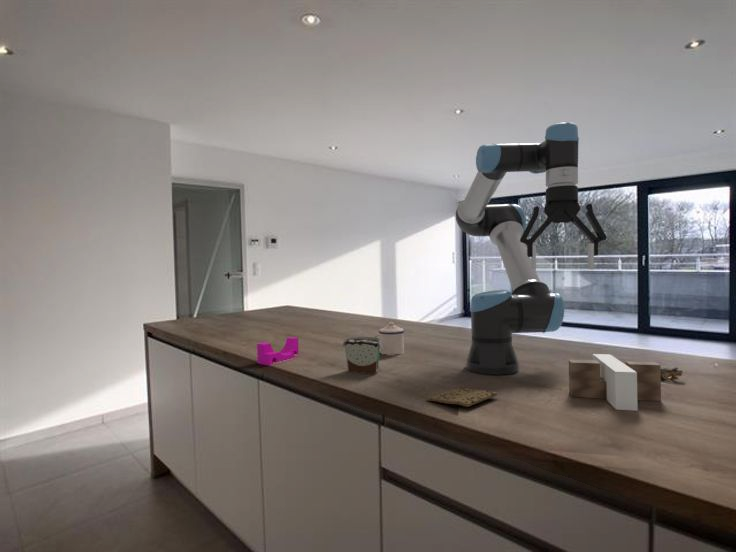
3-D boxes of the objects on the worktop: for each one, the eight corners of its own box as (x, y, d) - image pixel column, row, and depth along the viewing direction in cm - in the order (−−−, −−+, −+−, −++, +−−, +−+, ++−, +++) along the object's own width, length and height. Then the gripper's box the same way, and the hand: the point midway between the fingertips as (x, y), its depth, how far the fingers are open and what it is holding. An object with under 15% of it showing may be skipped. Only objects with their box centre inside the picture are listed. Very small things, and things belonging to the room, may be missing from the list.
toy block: (269, 368, 134) (269, 345, 134) (257, 366, 138) (257, 343, 138) (303, 359, 146) (303, 338, 146) (291, 357, 150) (291, 337, 150)
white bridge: (637, 410, 86) (636, 372, 86) (616, 409, 87) (615, 371, 87) (610, 386, 103) (610, 354, 103) (593, 385, 104) (592, 354, 104)
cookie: (456, 389, 106) (456, 381, 106) (498, 400, 96) (498, 391, 96) (425, 400, 98) (425, 392, 98) (468, 413, 89) (467, 403, 89)
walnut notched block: (572, 396, 96) (571, 362, 96) (569, 393, 99) (568, 359, 99) (661, 401, 91) (660, 365, 91) (655, 396, 94) (654, 362, 94)
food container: (388, 370, 126) (388, 337, 126) (381, 375, 121) (380, 341, 121) (352, 367, 131) (352, 335, 131) (343, 371, 126) (342, 339, 126)
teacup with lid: (409, 353, 150) (408, 321, 150) (397, 358, 142) (396, 324, 142) (380, 351, 156) (379, 320, 156) (367, 355, 149) (366, 323, 148)
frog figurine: (689, 379, 110) (689, 364, 110) (679, 388, 102) (679, 373, 101) (639, 372, 118) (639, 358, 118) (626, 380, 110) (626, 366, 110)
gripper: (511, 187, 105) (512, 270, 107) (621, 180, 99) (620, 269, 101) (509, 191, 113) (509, 269, 114) (611, 185, 107) (610, 267, 108)
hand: (561, 269), depth 107 cm, fingers open, 13 cm apart
